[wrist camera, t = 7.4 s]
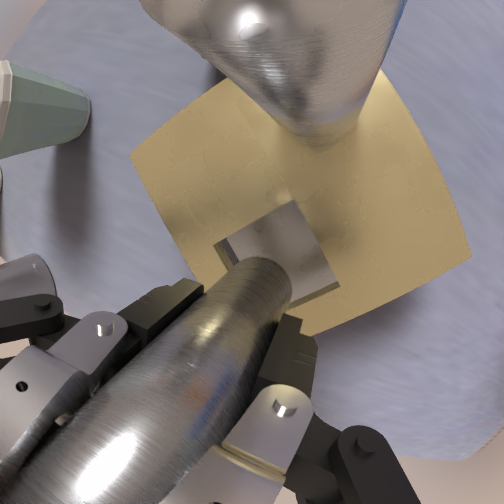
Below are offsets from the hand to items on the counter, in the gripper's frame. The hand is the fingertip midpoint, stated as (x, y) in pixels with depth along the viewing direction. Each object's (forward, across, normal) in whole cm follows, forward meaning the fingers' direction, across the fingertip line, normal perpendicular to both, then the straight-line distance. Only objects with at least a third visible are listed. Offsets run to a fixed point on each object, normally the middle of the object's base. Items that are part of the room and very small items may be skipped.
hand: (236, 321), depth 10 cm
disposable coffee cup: (+16, +28, -7) cm, 33 cm away
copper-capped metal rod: (+3, 0, 0) cm, 3 cm away
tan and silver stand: (+15, 0, -4) cm, 16 cm away
